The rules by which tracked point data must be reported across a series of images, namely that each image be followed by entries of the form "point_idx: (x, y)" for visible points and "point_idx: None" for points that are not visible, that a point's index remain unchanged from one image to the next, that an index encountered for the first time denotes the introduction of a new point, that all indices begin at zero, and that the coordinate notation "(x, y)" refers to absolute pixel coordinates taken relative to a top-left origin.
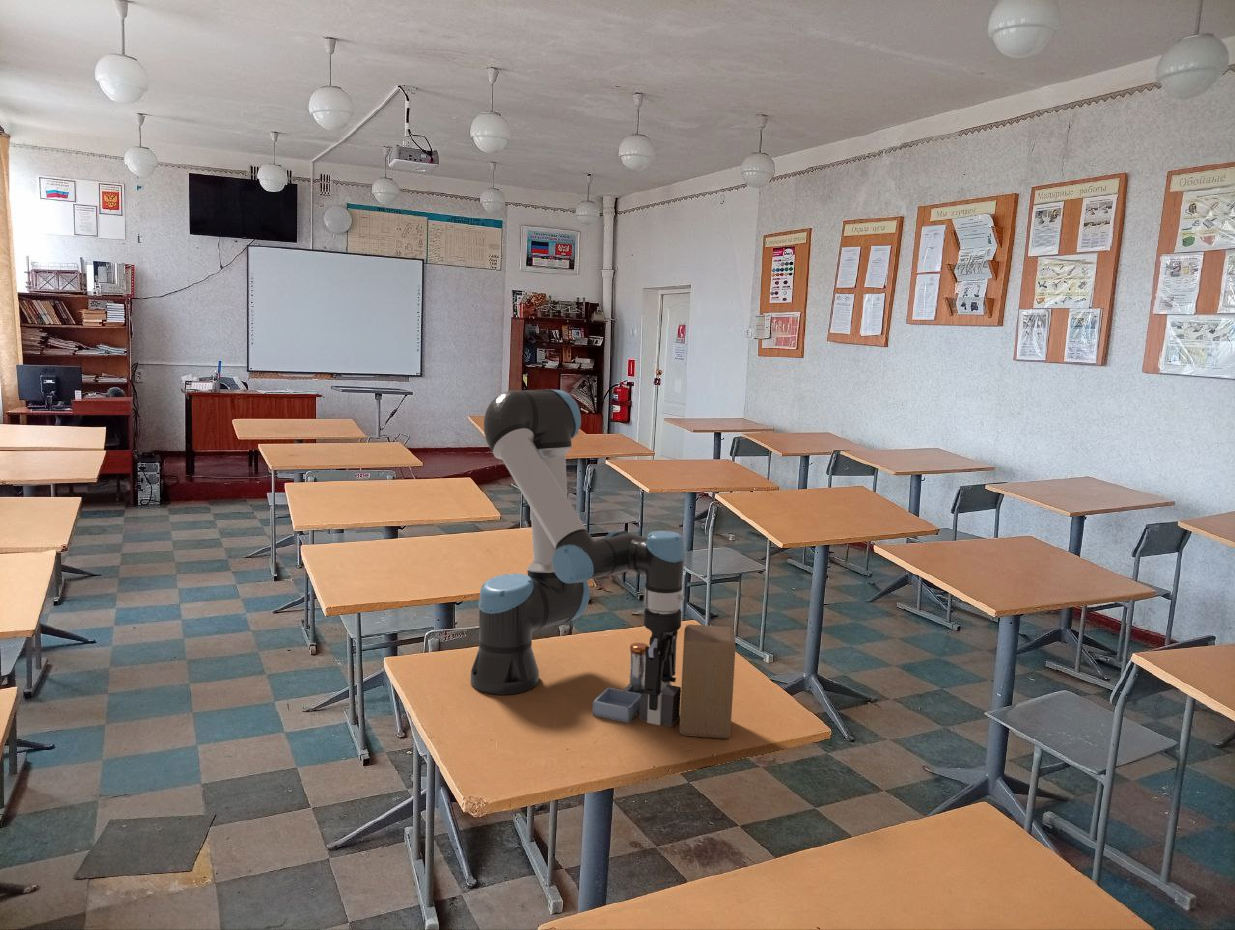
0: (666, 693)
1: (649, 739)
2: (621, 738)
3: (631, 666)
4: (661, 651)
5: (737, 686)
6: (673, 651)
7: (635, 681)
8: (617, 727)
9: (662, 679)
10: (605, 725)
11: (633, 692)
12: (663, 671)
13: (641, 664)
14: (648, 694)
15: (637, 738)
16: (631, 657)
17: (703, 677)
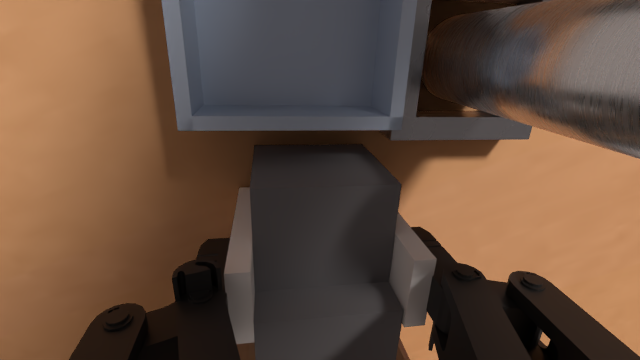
0: (273, 354)
1: (103, 246)
2: (24, 142)
3: (593, 16)
4: None
5: (627, 329)
6: None
7: (483, 65)
8: (119, 81)
9: (439, 286)
10: (98, 10)
11: (406, 71)
12: (455, 348)
13: (595, 126)
14: (226, 265)
15: (77, 203)
16: None
17: None
